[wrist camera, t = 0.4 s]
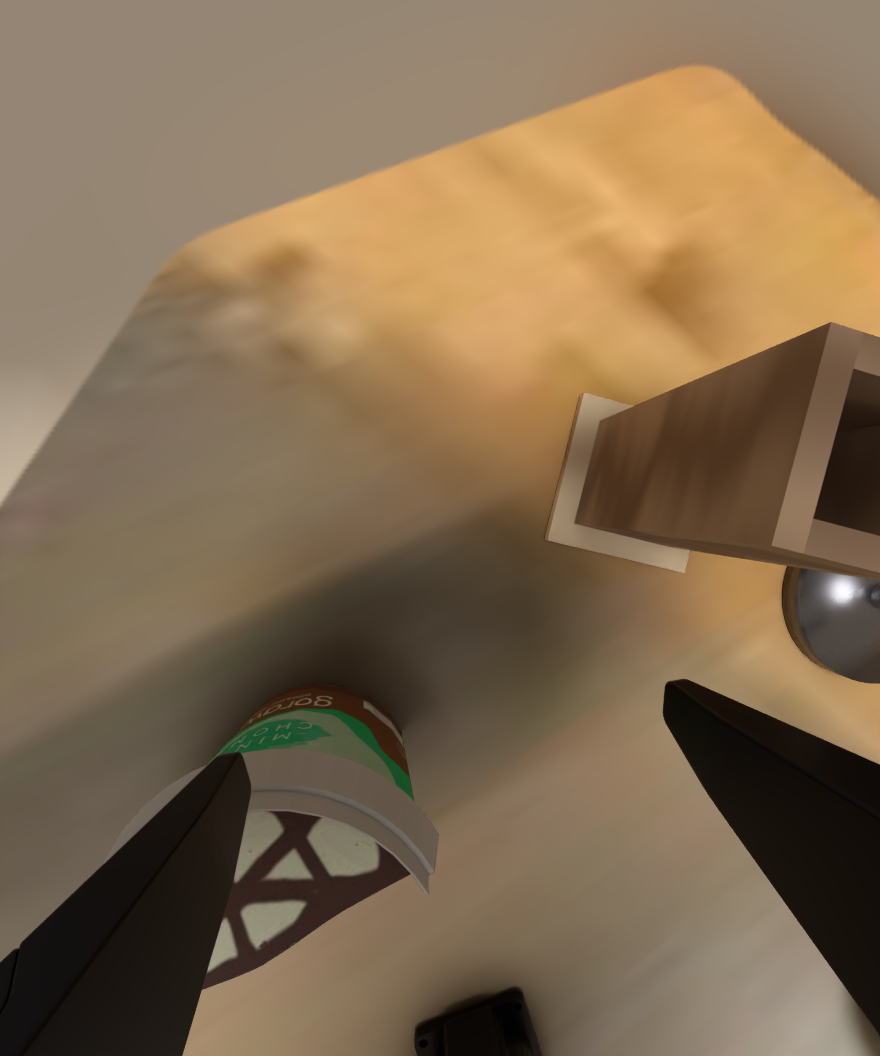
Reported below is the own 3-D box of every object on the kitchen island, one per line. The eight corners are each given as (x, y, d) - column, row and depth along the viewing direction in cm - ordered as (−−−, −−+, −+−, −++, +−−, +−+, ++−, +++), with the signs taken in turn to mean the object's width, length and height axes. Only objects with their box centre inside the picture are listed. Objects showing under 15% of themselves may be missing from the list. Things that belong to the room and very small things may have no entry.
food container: (374, 620, 22) (352, 714, 12) (426, 719, 23) (444, 886, 13) (158, 730, 22) (-52, 924, 12) (217, 829, 22) (64, 1096, 12)
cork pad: (678, 571, 23) (684, 573, 23) (544, 539, 23) (547, 540, 22) (714, 432, 23) (721, 430, 23) (579, 395, 22) (584, 392, 22)
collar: (670, 547, 23) (962, 593, 11) (574, 523, 22) (771, 545, 10) (696, 446, 23) (1022, 382, 11) (599, 420, 22) (831, 321, 10)
